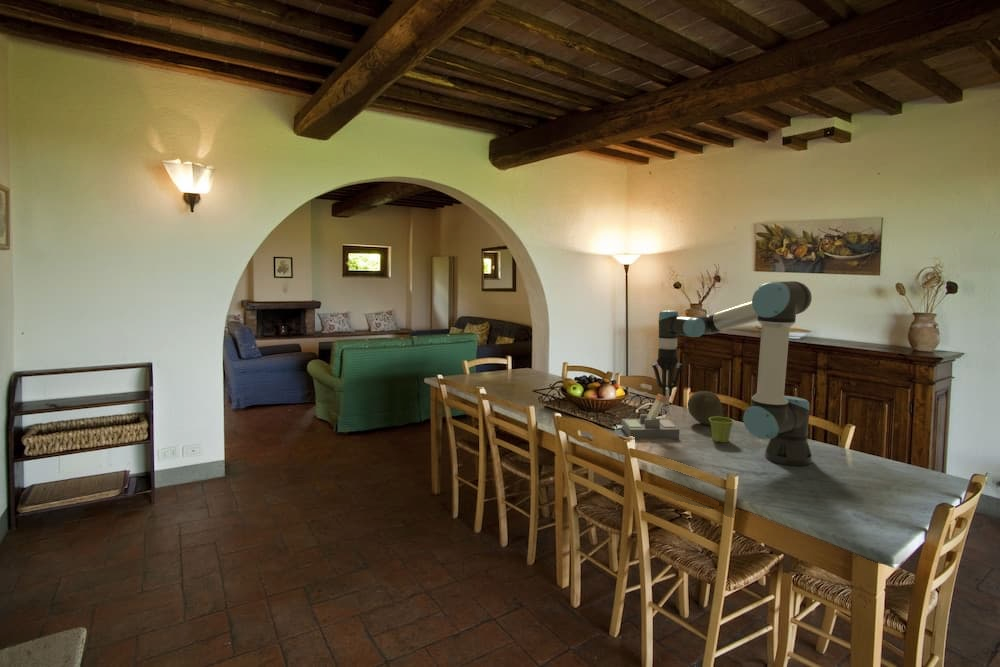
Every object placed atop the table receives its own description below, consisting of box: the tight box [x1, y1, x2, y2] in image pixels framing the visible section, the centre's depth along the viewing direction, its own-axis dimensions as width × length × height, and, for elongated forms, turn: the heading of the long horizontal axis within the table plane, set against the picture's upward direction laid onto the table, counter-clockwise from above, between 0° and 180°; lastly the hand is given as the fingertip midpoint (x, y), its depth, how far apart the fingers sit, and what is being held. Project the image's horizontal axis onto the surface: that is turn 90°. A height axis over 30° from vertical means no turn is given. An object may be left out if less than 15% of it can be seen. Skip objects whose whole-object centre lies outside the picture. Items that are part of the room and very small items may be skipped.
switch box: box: [621, 413, 681, 440], centre depth 236 cm, size 16×20×7 cm
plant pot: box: [709, 416, 735, 443], centre depth 226 cm, size 9×9×9 cm
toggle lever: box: [645, 393, 667, 419], centre depth 235 cm, size 5×3×13 cm, turn 0°
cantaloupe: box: [687, 390, 723, 426], centre depth 249 cm, size 14×14×15 cm
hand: (666, 403), depth 235 cm, fingers closed
